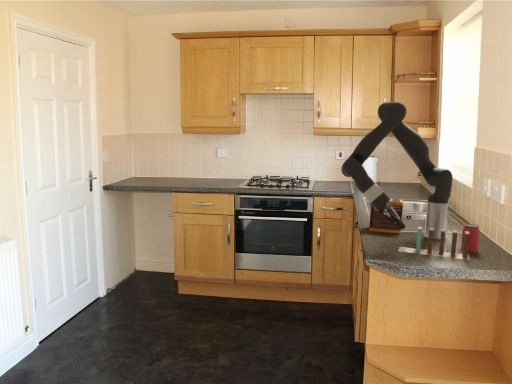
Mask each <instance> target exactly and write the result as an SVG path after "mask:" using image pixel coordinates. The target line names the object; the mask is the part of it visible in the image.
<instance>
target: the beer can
mask: <svg viewBox="0 0 512 384" xmlns="http://www.w3.org/2000/svg"><path fill="white" fill-rule="evenodd" d="M479 227H480V226H479V225H478V224H474V223H464V226H463V228H462V235H461V236H462V237H461V243H460V244H461V245H460V249H461V251H463V245H464V234H465V231H469V233H470V235H469V246H468V253H477V252H478V251H479V250H478V249H479V241H480V228H479Z"/></svg>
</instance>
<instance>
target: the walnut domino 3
mask: <svg viewBox="0 0 512 384" xmlns="http://www.w3.org/2000/svg"><path fill="white" fill-rule="evenodd" d="M451 237H452V238H451V246H450V253H451V257H455V253H457V252H456V251H457V242H458V230H456V229H453V230H452V236H451Z"/></svg>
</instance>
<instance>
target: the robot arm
mask: <svg viewBox="0 0 512 384" xmlns="http://www.w3.org/2000/svg"><path fill="white" fill-rule="evenodd" d="M377 115H378V116H377V117H378V118H379V120H380V121H381V122H380V123H379V124H378V125H377V126H376V127H375V128H374V129H372V130H371V131H369V132H368V133H367V134H366V135H364V137H363V138H362V139H361V140H360V141H359V143H358V144H357V145H356V146H355V148H354V149H353V152H352V153H351V154H350V155H349V156H348V158H347V159H345V160H344V162H343V164H342V165H341V168H340V169H341V171H340V172H341V173H342V175H343V176H344V177H347V178H351V179H352V180H353V181H354V185H355V188H357V189H358V191H360V192H361V194H362V195H363V196H364V198H365V199H366V200H367V202H368V203H369V204H370V206H371V205H372V206H373V207H374V208H375V209H376V210H379V209H380V208H381V209H382V210H383V211H384V212H383V213H384V214H385V216H386V217H387V218H388V219H389V220H391V221H392V222H393V223H396V224H397V225H398V226H399V228H400V229H401V231H403V230H404V229H405V228H406V224H405V223H404V222H403V220H402V221H401V220H400V218H399V215H398V214H397V212H396V211H395V209H394V208H393V207H392V206H390V205H388V204H387V203H388V202H389V201H390V199H391V198H390V197H389V196H388V194H386V193H385V191H384V190H383V189H382V188H381V187H380V186H379V184H377V183H376V182H375V181H374V180H373V179H372V178H371V176H370V175H369V174H368V172H367V170H366V169H365V168H364V166H363V164H364V163H365V162H366V161H367V160H368V159H369V158H370V156H371V155H372V154H373V153H374V151H375V150H376V148H377V147H378V146H379V145H380V143H381V142H382V141H384V140H385V138H386V137H387V136H388V135H389V134H390V133H392V135H393V136H394V137H395V139H396V140H397V141H398V142H399V144H400V145H401V147H402V148H403V149H404V151H405V152H406V153H407V155H408V156H409V157H410V159H411V160H412V162H413V163H414V164H415V166H416V167H417V168H418V170H419V172H420V173H421V175H422V177H423V179H424V181H425V182H426V183H427V184H428V185H429V186H430V187H431V188H434V189H435V190H434V192H433V193H431V194H428V196H427V202H426V214H425V223H424V225H425V226H424V238H427V239H429V229H430V228H434V232H433V240H440V237H441V229H445V239H446V238H447V229H448V216H447V215H448V207H449V199H450V197H451V194H452V188H453V181H454V180H453V179H454V178H453V173H452V172H451V170H449V169H447V168H441V167H437V166H436V165H435V164H434V163H433V162H432V161H431V159H430V148H429V146H428V144H427V142H426V141H425V140H424V138H423V137H422V136H421V134H419V133H418V132H417V131H415V130H414V129H413V128H412V127H410V126H408V124H406V123H404V121H403V120H404V119H405V117H406V115H407V107H406V106H405V104H404V103H402V102H401V101H399V102H398V101H388V102H383V103H381V104H380V105H379V106H378V108H377Z"/></svg>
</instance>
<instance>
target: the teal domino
mask: <svg viewBox="0 0 512 384" xmlns="http://www.w3.org/2000/svg"><path fill="white" fill-rule="evenodd" d="M422 234H423V226H417V233H416V245H415V249H416V252H417V253H420V249H422V247H421V246H422Z"/></svg>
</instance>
